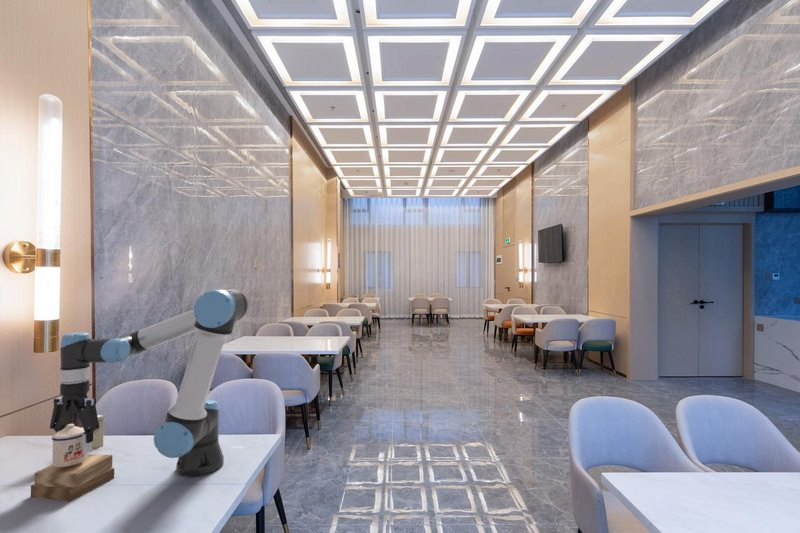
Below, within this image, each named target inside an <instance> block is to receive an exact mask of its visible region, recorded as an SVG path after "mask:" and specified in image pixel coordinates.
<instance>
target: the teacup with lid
mask: <svg viewBox="0 0 800 533" xmlns="http://www.w3.org/2000/svg"><path fill="white" fill-rule="evenodd" d="M84 432H85V431H84V429H83V428H80V427H76V426H74V424H68V425H67V426H66V428H65V429H63V430H61V431H60V432H57V433H56V432H55V433H53V435H52V436H51V440H52V464H53V466H55V467H66V466H71V465H75V464H78V463H80V462H82V461H84V460H85V459H86V458H87V454H88V453H86V454H82V434H83V433H84ZM93 440H94V434H93ZM92 443H93V441H92Z"/></svg>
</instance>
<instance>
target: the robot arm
mask: <svg viewBox="0 0 800 533" xmlns="http://www.w3.org/2000/svg"><path fill="white" fill-rule="evenodd" d="M248 307H249V302H248V299H247V297H246V295H245V294H244V292H242V291H240V290H238V289H235V288H225V289H224V288H215V289H211V290H208V291H205V292H204V293H202V294H201V295H200V296H199V297H198V298H197V299H196V301H195V302H194V306H193V309H192V310H189V311H186V312H184V313H181V314H177V315H175V316H173V317H170V318H167V319H165V320H162V321H160V322H157V323H155V324H151V325H150V326H146V327H144V328H142V329H139V330H136V331H133V332H132V333H128V334H123V335H119V336H118V335H117V336H114V337H109V338H96V339H95V338H94V339H93V338H91V334H90V332H72V333H66V334H63V335H62V336H61V338H60V348H59V349H60V370H59V371H60V372H59V374H60V375H59V382H61V383H60V385H59V394H60V397H57V398H54V399H53V409H52V413H51V419H50V424H49V429H51V430H54V432H55V433H57V432H60V431H61V430H63V429H64V428H66V423H67V421H68V419H69V417H70V414H71V412H72V411H75V413H76V414H78V416H79V419H80V421H81V424H82V426H83V429H84V431H85V432H84V433H83V434H82V454H86V453H87V454H89V453H91V452H92V451H93V450H92V441H93V432H94V430H97V429H99V422H98V416H97V415H98V412H97V405H96V403H97V399H96V397H95V398H94V397H93V398H89V397H88V393H89V392H90V380H88V379H90V366H91V365H90V364H92V363H109V364H113V363H121V362H124V361H126V359H127V358H128V357H131V356H135V355H139V354H142V353H143V352H145V351H148V350H150V349H152V348H155V347H157V346H160V345H163V344H165V343H169V342H171V341H173V340H177V339H179V338H181V337H184V336H186V335H189V334H192V333H194V332H196V336H195V339H194V342H193V345H192V349H191V352H190V355H189V359H188V361H187V362H188V363H187V366H186V369H185V370H184V371H185V372H184V374H183V378H182V381H181V383H180V384H181V385H180V388H179V391H178V394H177V398H176V401H175V403H174V404H172V405H170V406H169V408H168V410H167V411H166V412H167V413H166V415H165V419H164V422H163V423H162V424H160V425H159V426H158V428H157V429H156V430H155V432H154V435H153V444H154V447H155V448H156V449H157V451H158V452H159V454H161V455H162V456H164V457H166V458H170V459H177V458H178V459H177V462H176V465H175V466H176V467H175V469H176V470H175V471H176V473H177V474H178V475H179V476H183V477H197V476H204V475H207V474H210V473H213V472H215V471H217V470H218V469H221V467H222V466H223V465H224V464H225V463H224V459H225V458H224V454H223V452H222V448H221V446H220V443H219V428H220V426H219V425H220V424H219V423H220V421H219V418H220V417H219V416H220V415H219V414H220V413H219V412H220V409H219V402H218V401H217V400H214V399H208V396H209V393H210V388H211V384H212V381H213V378H214V375H215V374H216V373H215V372H216V369H217V366H218V362H219V359H220V357H221V353H222V348H223V346H224V343H225V340H226V338H228V337H229V336H231V335H232V333H233V330H234V327H235V324H236V322H238V321H240V320H241V319H243V318H244V316H245V315H247V314H246V313H248V309H249V308H248ZM88 427H89V429H88Z"/></svg>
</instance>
